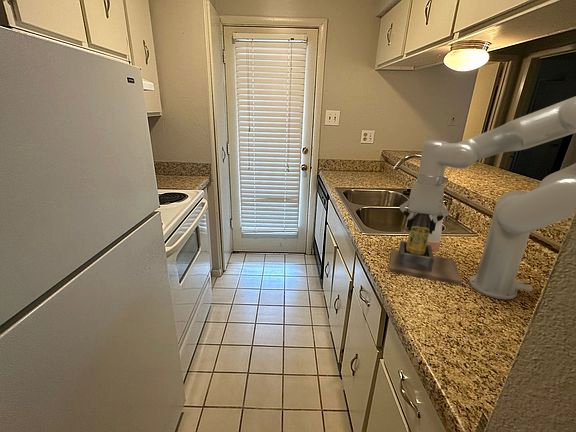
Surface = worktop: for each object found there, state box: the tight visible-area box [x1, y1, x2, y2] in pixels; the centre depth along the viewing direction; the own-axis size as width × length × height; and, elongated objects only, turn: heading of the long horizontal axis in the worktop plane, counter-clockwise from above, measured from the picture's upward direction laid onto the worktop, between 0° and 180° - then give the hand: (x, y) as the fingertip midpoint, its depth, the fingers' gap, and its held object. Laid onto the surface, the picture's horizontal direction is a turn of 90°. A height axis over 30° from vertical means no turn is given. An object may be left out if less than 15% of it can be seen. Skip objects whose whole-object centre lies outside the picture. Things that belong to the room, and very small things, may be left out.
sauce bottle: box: [406, 213, 431, 256], centre depth 100 cm, size 7×6×20 cm
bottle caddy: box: [388, 240, 463, 286], centre depth 103 cm, size 22×16×6 cm
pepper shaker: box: [427, 204, 448, 251], centre depth 117 cm, size 7×7×19 cm
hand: (419, 230), depth 100 cm, fingers closed on sauce bottle, 6 cm apart
